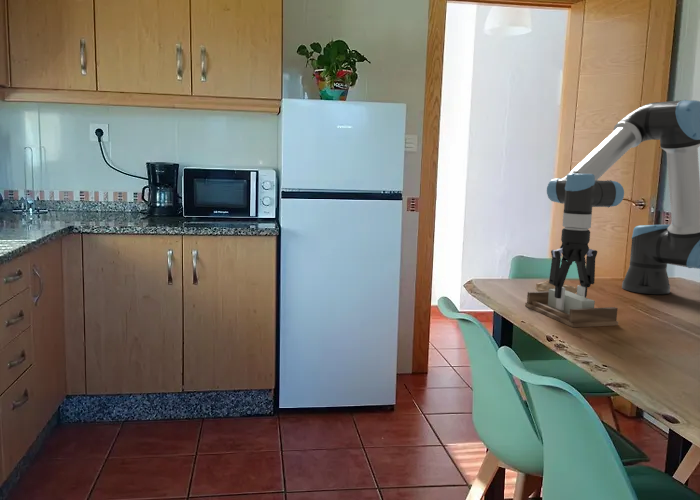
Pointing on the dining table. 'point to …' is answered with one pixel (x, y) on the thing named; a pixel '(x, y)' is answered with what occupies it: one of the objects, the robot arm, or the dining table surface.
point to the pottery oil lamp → (552, 287)
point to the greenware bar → (570, 301)
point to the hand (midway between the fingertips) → (569, 308)
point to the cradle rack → (572, 312)
